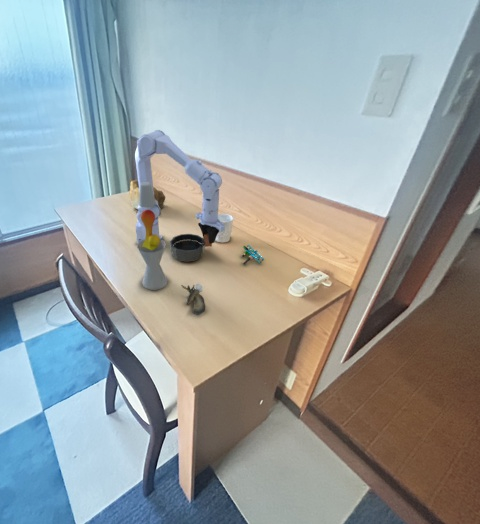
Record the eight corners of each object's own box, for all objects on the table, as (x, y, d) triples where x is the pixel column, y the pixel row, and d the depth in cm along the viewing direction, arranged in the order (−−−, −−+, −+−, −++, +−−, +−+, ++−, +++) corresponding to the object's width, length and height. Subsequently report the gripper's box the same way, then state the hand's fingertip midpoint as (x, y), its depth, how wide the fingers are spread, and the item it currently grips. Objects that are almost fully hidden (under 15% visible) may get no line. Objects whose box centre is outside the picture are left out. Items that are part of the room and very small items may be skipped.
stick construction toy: (268, 261, 102) (257, 246, 99) (255, 274, 102) (243, 260, 99) (252, 253, 113) (241, 239, 110) (239, 265, 113) (228, 252, 111)
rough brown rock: (174, 213, 147) (175, 185, 139) (145, 219, 139) (144, 189, 132) (154, 201, 164) (153, 175, 157) (127, 205, 157) (125, 178, 149)
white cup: (230, 244, 118) (232, 222, 112) (211, 242, 119) (212, 221, 114) (231, 235, 124) (233, 214, 118) (213, 233, 126) (214, 213, 120)
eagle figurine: (175, 295, 90) (181, 310, 82) (185, 276, 88) (193, 290, 80) (194, 303, 93) (202, 318, 85) (205, 285, 91) (214, 299, 83)
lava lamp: (136, 283, 98) (122, 184, 78) (154, 271, 103) (145, 176, 84) (155, 293, 93) (145, 191, 73) (173, 280, 98) (168, 181, 79)
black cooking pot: (172, 263, 105) (171, 246, 101) (169, 245, 116) (168, 229, 112) (215, 260, 106) (215, 242, 102) (207, 242, 118) (208, 226, 113)
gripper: (189, 204, 105) (189, 236, 112) (215, 218, 95) (213, 252, 102) (204, 200, 108) (203, 231, 116) (230, 212, 98) (227, 246, 105)
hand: (209, 241), depth 109 cm, fingers open, 3 cm apart
